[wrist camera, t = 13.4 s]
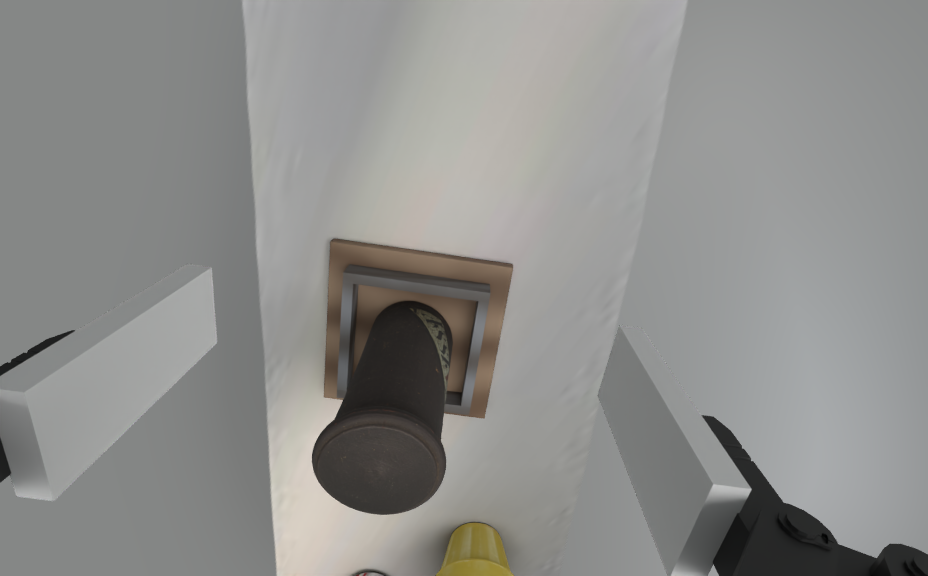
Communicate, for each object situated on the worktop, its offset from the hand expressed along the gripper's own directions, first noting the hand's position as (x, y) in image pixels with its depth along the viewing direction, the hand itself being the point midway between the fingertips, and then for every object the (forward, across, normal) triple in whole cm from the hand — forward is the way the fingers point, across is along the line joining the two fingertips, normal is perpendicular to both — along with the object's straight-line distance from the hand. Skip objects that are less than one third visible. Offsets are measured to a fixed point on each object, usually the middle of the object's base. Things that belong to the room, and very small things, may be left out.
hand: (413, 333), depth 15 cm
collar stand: (+31, -2, -17) cm, 35 cm away
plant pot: (+30, +9, -46) cm, 56 cm away
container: (+30, -2, -17) cm, 34 cm away
